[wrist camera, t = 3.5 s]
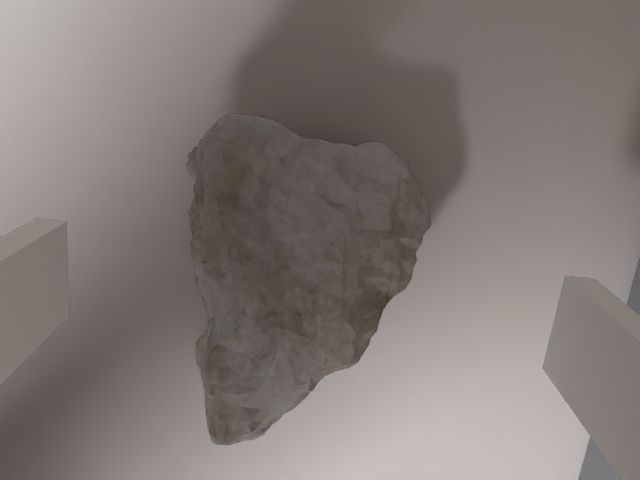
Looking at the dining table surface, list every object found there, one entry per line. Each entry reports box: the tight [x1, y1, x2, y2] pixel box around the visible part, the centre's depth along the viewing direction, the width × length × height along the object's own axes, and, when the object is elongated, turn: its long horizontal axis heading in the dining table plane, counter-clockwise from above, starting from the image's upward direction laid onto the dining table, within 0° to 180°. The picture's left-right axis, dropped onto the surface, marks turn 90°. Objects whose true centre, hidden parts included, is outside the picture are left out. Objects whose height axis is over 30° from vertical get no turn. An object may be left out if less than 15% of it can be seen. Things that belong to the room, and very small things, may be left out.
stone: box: [186, 114, 431, 445], centre depth 18 cm, size 10×8×6 cm
